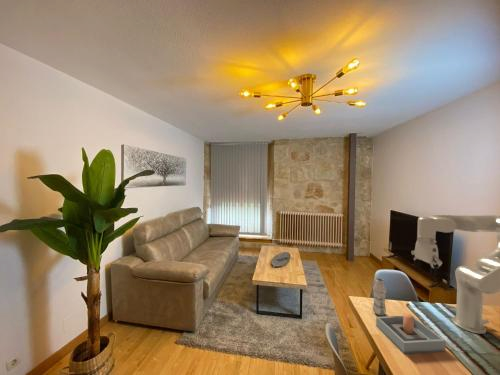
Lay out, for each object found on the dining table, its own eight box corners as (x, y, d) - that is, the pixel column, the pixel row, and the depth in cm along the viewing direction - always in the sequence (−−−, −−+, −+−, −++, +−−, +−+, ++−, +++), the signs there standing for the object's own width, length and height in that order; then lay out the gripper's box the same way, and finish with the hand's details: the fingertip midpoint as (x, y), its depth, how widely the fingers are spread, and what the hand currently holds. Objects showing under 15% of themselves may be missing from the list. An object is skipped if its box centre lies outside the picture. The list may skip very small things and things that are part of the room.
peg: (408, 332, 105) (409, 313, 105) (415, 338, 101) (416, 318, 101) (400, 333, 105) (401, 313, 104) (407, 339, 101) (408, 318, 100)
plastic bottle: (388, 318, 118) (389, 283, 117) (374, 316, 119) (375, 281, 119) (383, 311, 124) (384, 277, 124) (370, 309, 126) (371, 276, 125)
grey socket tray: (411, 324, 113) (411, 315, 113) (445, 351, 95) (445, 340, 95) (376, 326, 111) (376, 316, 111) (403, 353, 93) (404, 342, 93)
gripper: (448, 244, 105) (447, 278, 105) (418, 235, 122) (417, 264, 123) (435, 244, 104) (433, 278, 105) (406, 236, 122) (405, 265, 122)
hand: (425, 271), depth 114 cm, fingers open, 9 cm apart
